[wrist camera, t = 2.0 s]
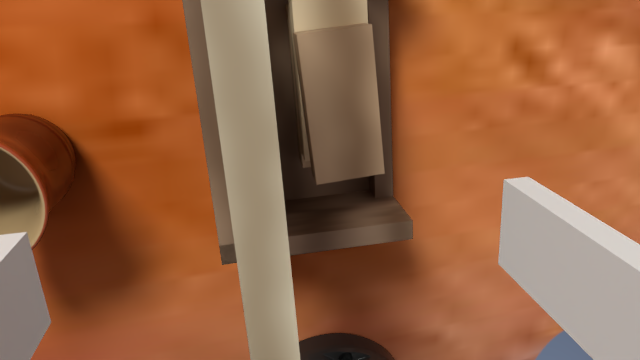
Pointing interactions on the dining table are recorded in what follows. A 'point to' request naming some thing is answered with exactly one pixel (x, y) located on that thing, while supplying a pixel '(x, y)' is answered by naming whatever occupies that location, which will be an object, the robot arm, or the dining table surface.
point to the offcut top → (340, 101)
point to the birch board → (253, 172)
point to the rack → (298, 183)
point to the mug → (32, 173)
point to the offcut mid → (316, 13)
